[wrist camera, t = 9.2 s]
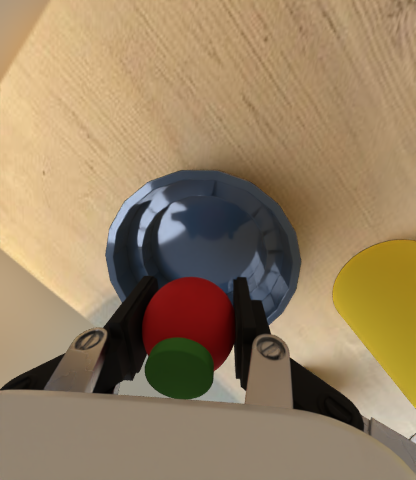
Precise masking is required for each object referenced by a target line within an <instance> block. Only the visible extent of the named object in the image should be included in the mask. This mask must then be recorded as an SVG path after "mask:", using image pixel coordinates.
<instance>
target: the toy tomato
mask: <svg viewBox="0 0 416 480" xmlns="http://www.w3.org/2000/svg"><path fill="white" fill-rule="evenodd" d="M142 338H143V343H144V347H145V350H146V352H147V354H148V356H149V357H148V359H147V362H146V364H145V376H146V378H147V381H148V382H149V384H150V385H151V386H152V387H153V388H154V389H155V390H157V391H158V392H159V393H161V394H163V395H165V396H168V397H171V398H174V399H193V398H197V397H200V396H202V395H203V394H205V393H206V392H207V391H208V390H209V389H210V387H211V385H212V383H213V375H214V371H215V370H217V369H218V368H219V367H220V366H221V365H222V364H223V363H224V361H225V360H226V359H227V357H228V356H229V354H230V352H231V350H232V348H233V345H234V342H235V311H234V308H233V305H232V303H231V301H230V299H229V298H228V296H227V295H226V294H225V292H224V291H223V290H222V289H221V288H220V287H218V286H217V285H216V284H214V283H213V282H211V281H209V280H206V279H203V278H199V277H183V278H179V279H176V280H173V281H171V282H169V283H168V284H166V285H164V286H163V287H162V288H161V289H160V290H159V291H157V292H156V294H155V295H154V296H153V297H152V299H151V300H150V302H149V304H148V306H147V308H146V310H145V313H144V317H143V322H142Z"/></svg>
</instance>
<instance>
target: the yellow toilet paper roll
mask: <svg viewBox="0 0 416 480" xmlns="http://www.w3.org/2000/svg"><path fill="white" fill-rule="evenodd" d="M333 302H334V305H335V308H336V310H337V311H338V313H339V314H340V315H341V316H342V318H343V319H344V320H345V321H346V323H347V324H348V325H349V326H350V328H351V329H352V330H353V331H354V333H355V334H356V335H357V336H358V338H359V339H360V340H361V341H362V343H363V344H364V345H365V346H366V348H367V349H368V350H369V351H370V352H371V354H372V355H373V356H374V357H375V359H376V360H377V361H378V362H379V364H380V365H381V366H382V367H383V369H384V370H385V371H386V372H387V374H388V375H389V376H390V377H391V379H392V380H393V381H394V382H395V384H396V385H397V386H398V387H399V389H400V390H401V391H402V392H403V394H404V395H405V396H406V397H407V399H408V400H409V401H410V402H411V404H412V405H413V406H414V407H415V409H416V241H413V240H392V241H387V242H383V243H379V244H376V245H374V246H371V247H369V248H367V249H365V250H363V251H362V252H360V253H359V254H357V255H356V256H354V257H353V258H352V259H351V260H350V261H349V262H348V263H347V264H346V265H345V266H344V267H343V268H342V270H341V271H340V273H339V274H338V276H337V278H336V280H335V283H334V287H333Z"/></svg>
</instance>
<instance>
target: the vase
mask: <svg viewBox="0 0 416 480" xmlns="http://www.w3.org/2000/svg"><path fill="white" fill-rule="evenodd" d="M410 440H411V441H412V442H414V443H416V435H414V436H413V437H412V438H411V439H410Z"/></svg>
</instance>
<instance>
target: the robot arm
mask: <svg viewBox="0 0 416 480" xmlns="http://www.w3.org/2000/svg"><path fill="white" fill-rule="evenodd" d="M157 291H159V287H158V280H157V278H155V277H154V276H143V278H142V279H141V280H140V282H139V283H138V284H137V285H136V287H135V288H134V289H133V291H132V292H131V293H130V294H129V296H128V297H127V298H126V299H125V300H124V302H123V303H122V304H121V305H120V307H119V308H118V309H117V311H116V312H115V313H114V314H113V316H112V317H111V318H110V320H109V321H108V322H107V323H106V325H105V326H104V327H103V328H101V327H99V328H92V329H89V330H86V331H84V332H83V333H81V334H80V335H79V336H77V337H76V338H75V339H74V341H73V342H72V343H71V345H70V347H69V349H68V350H67V352H66V353H64V354H63V355H60V356H58V357H56V358H54V359H52V360H50V361H48V362H46V363H44V364H42V365H40V366H38V367H36V368H33V369H32V370H30V371H27V372H25V373H23V374H21V375H19V376H17V377H16V378H14V379H12V380H11V381H9V382H8V383H7V384H5V385H4V386H3V387H2V388H1V389H0V480H416V443H414V442H412V441H411V440H409V439H407V438H406V437H404V436H402V435H401V434H399V433H397V432H396V431H394V430H392V429H390V428H389V427H387V426H385V425H384V424H382V423H380V422H379V421H377V420H375V419H374V418H372V417H371V420H369V419H367V418H365V417H364V416H362V415H361V414H360V412H359V410H358V409H357V408H356V406H355V405H354V404H353V403H352V402H351V401H350V400H349V399H348V398H347V397H345V396H344V395H343V394H341V393H340V392H338V391H337V390H336V389H334V388H333V387H331V386H330V385H328V384H327V383H326V382H324V381H323V380H321V379H320V378H318V377H317V376H316V375H314V374H313V373H311V372H310V371H309V370H307V369H306V368H304V367H303V366H301V365H300V364H299V363H297V362H296V361H294V360H293V359H291V358H290V354H289V349H288V346H287V345H286V343H285V342H284V341H283V340H282V339H280V338H279V337H277V336H275V335H272V334H271V332H270V329H269V325H268V322H267V318H266V314H265V311H264V307H263V304H262V301H261V300H251V298H250V293H249V288H248V283H247V278H246V277H237V279H233V308H234V311H235V342H234V353H235V373H236V379H240V383H241V387H242V388H243V389H244V390H245V391H246V396H245V404H239V403H226V402H213V401H199V400H186V399H171V398H157V397H144V396H129V395H118V391H119V387H120V382H122V381H123V380H130V381H131V380H132V381H133V378H134V376H135V374H136V373H139V371H140V370H141V367H142V365H143V362H144V360H145V358H146V355H147V352H146V350H145V347H144V343H143V338H142V322H143V317H144V313H145V310H146V308H147V306H148V304H149V302H150V300H151V299H152V297H153V296H154V295H155V294H156V292H157Z"/></svg>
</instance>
